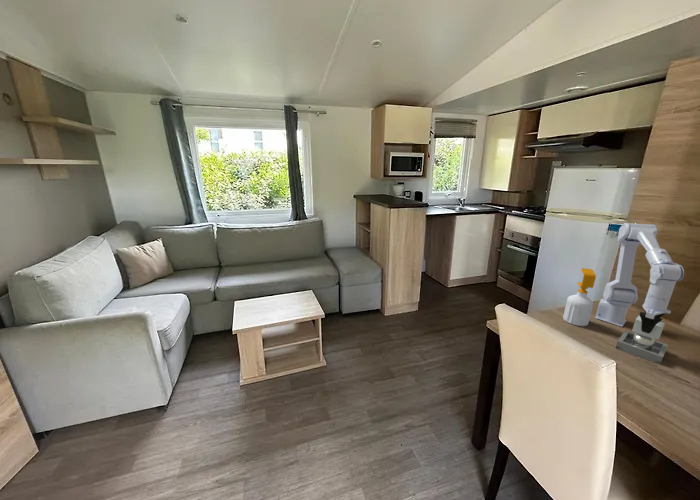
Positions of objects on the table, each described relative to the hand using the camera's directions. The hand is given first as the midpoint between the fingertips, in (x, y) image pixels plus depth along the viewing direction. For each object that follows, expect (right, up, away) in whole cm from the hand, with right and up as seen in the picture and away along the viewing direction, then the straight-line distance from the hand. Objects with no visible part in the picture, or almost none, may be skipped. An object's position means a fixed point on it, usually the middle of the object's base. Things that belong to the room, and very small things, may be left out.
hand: (647, 329), depth 107 cm
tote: (0, -8, +3) cm, 9 cm away
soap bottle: (-9, -3, +22) cm, 24 cm away
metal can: (0, -7, +2) cm, 8 cm away
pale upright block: (0, -1, 0) cm, 2 cm away
